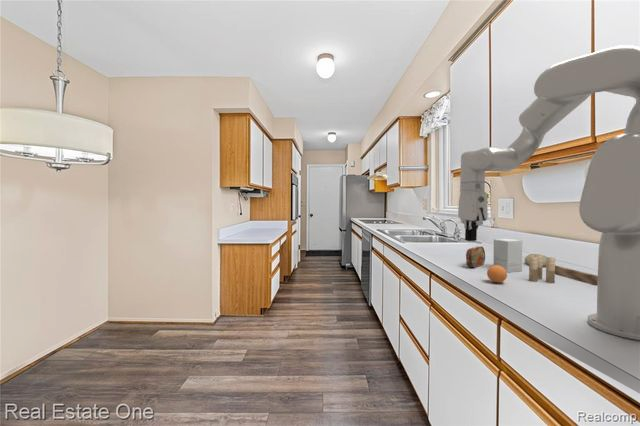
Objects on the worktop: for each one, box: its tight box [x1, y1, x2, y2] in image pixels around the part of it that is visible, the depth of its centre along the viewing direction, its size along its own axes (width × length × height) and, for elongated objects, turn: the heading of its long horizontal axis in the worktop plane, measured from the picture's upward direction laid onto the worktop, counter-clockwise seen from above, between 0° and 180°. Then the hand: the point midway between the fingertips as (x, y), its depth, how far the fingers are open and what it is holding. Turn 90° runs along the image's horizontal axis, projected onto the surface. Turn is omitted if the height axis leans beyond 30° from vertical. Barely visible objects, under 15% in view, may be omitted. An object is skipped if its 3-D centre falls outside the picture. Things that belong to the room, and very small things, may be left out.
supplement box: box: [493, 238, 523, 273], centre depth 120 cm, size 7×7×13 cm
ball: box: [486, 264, 508, 284], centre depth 103 cm, size 6×6×6 cm
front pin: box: [528, 257, 538, 282], centre depth 104 cm, size 2×2×8 cm
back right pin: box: [545, 256, 556, 284], centre depth 102 cm, size 2×2×8 cm
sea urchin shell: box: [524, 253, 547, 268], centre depth 129 cm, size 9×8×8 cm
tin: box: [465, 246, 486, 269], centre depth 128 cm, size 15×3×8 cm, turn 131°
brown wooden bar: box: [555, 264, 598, 286], centre depth 106 cm, size 20×2×3 cm, turn 6°
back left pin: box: [534, 254, 543, 280], centre depth 107 cm, size 2×2×8 cm
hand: (470, 240), depth 102 cm, fingers closed
